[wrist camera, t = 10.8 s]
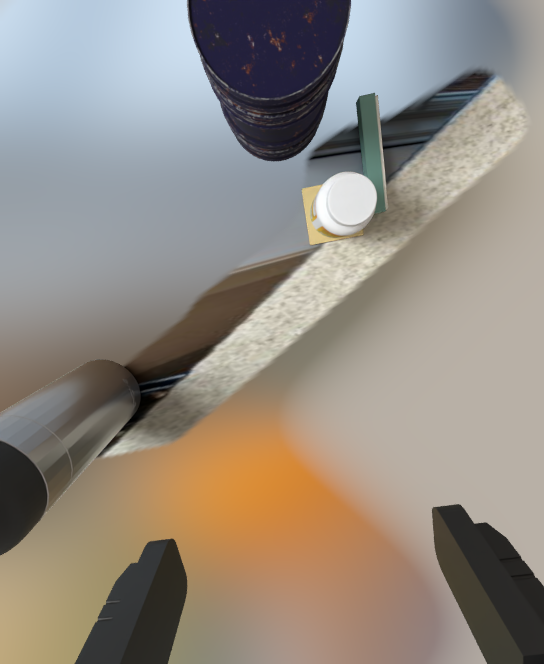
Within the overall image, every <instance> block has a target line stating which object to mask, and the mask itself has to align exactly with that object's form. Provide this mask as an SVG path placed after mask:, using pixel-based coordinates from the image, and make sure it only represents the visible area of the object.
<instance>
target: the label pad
mask: <svg viewBox="0 0 544 664" xmlns="http://www.w3.org/2000/svg"><path fill="white" fill-rule="evenodd" d="M321 187H322V185H318V186H313V187H308V188H303V189H302V195H303V201H304V208H305V215H306V221H307V228H308V234H309V241H310V245H314V244H319V243H324V242H329V241H335V240H340V239H345V238H350V237H355V236H361V235H364V234H363V229H362V230H360V231H359V232H357V233H355V234H352V235H348V236H343V237H338V238H331V237H326V236H324V235H322V234H320V233H319V232H318V231H317V230H316V229H315V227H314V226H313V224H312V221H311V217H310V209H311V205H312V202H313V200H314V198H315V196H316V195H317V193H318V192H319V190H320V188H321Z"/></svg>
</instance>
